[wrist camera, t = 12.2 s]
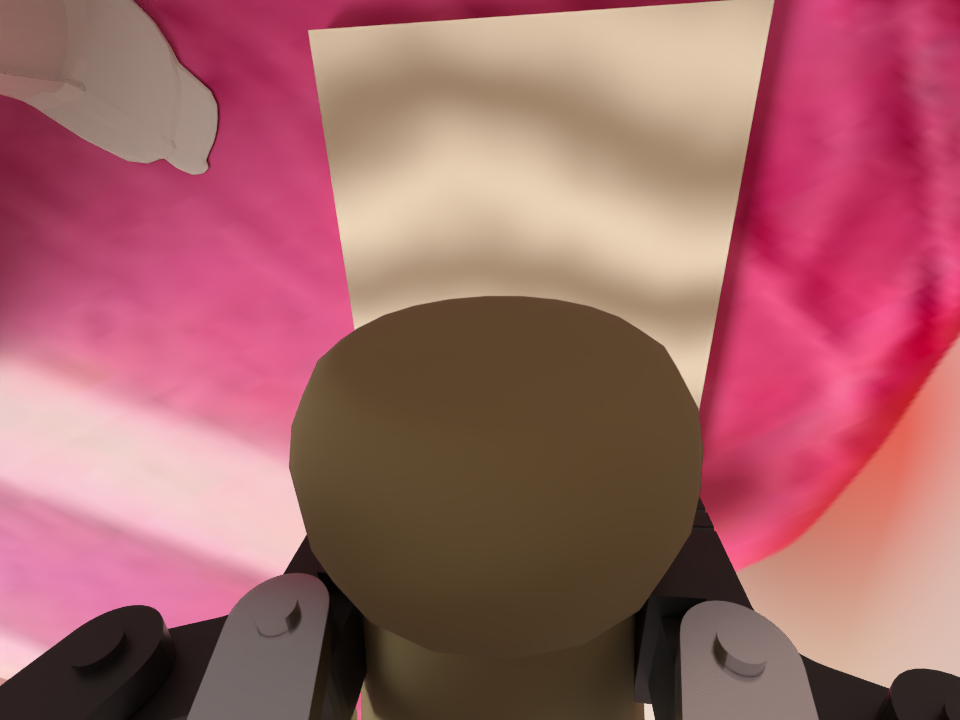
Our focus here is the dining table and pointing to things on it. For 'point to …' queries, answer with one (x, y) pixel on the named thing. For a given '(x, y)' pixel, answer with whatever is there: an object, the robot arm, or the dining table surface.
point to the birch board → (546, 160)
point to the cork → (497, 502)
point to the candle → (107, 79)
